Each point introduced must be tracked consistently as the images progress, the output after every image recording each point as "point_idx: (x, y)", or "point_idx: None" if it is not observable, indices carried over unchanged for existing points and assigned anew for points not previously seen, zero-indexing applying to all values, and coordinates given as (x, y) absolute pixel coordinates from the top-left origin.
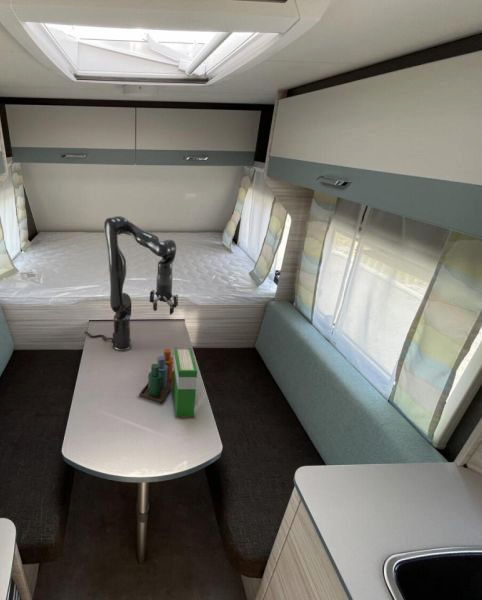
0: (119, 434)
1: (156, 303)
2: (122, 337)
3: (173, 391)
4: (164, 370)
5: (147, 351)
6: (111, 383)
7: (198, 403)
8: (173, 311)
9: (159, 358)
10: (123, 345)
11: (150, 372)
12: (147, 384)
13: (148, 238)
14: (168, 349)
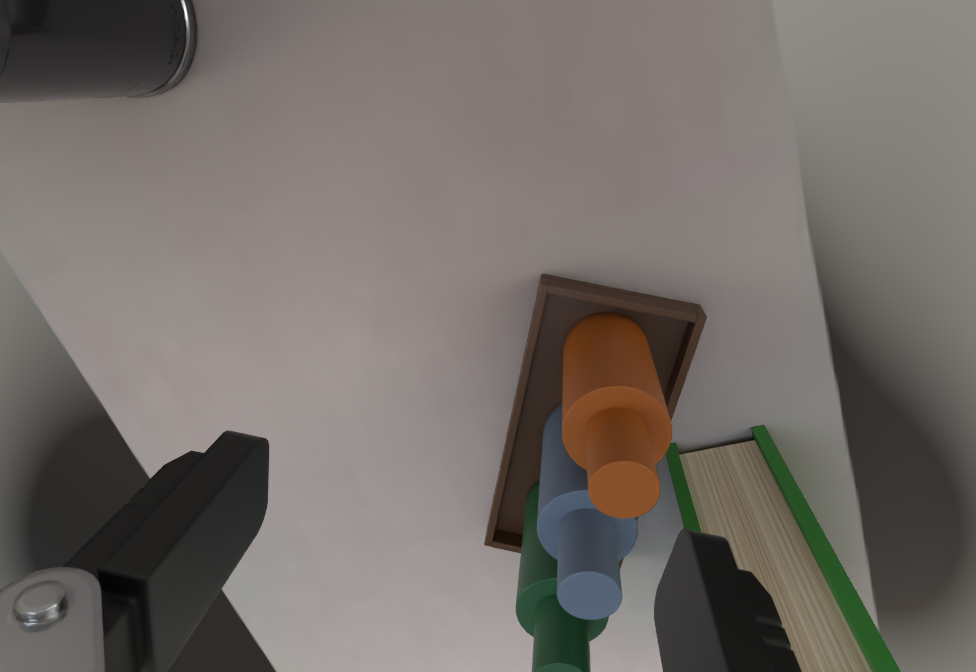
0: None
1: (137, 605)
2: (66, 92)
3: (677, 500)
4: (619, 558)
5: (362, 21)
6: (296, 459)
7: (828, 512)
8: (772, 631)
9: (574, 606)
10: (137, 87)
11: (525, 597)
12: (505, 471)
13: None
14: (632, 471)
